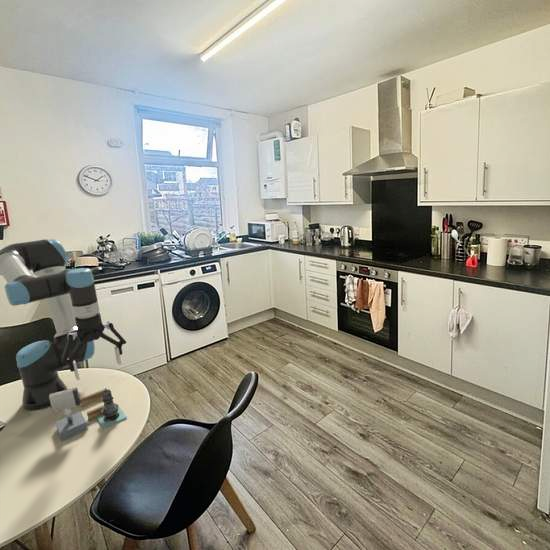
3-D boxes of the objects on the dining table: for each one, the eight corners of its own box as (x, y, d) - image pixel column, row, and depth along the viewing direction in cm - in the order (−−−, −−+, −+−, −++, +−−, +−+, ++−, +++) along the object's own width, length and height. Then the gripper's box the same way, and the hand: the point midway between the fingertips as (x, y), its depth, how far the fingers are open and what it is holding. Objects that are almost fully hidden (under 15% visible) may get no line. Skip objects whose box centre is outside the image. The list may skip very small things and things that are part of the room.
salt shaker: (113, 423, 120) (107, 393, 117) (99, 421, 121) (92, 392, 118) (123, 412, 125) (118, 383, 122) (109, 411, 127) (103, 382, 123)
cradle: (81, 405, 132) (79, 398, 131) (105, 395, 138) (104, 388, 137) (89, 420, 123) (87, 413, 122) (115, 409, 128) (113, 402, 128)
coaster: (97, 418, 124) (96, 417, 124) (119, 408, 129) (119, 407, 129) (103, 429, 118) (102, 427, 118) (126, 418, 123) (126, 416, 123)
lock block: (57, 429, 119) (55, 421, 119) (82, 418, 124) (80, 411, 123) (61, 441, 113) (59, 433, 113) (87, 429, 118) (86, 421, 118)
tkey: (56, 425, 116) (48, 396, 113) (57, 422, 117) (50, 393, 114) (83, 418, 119) (76, 390, 116) (83, 415, 120) (77, 387, 117)
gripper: (45, 329, 103) (60, 390, 109) (129, 307, 118) (138, 361, 124) (41, 322, 108) (56, 380, 114) (122, 302, 124) (131, 354, 130)
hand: (99, 370), depth 119 cm, fingers open, 13 cm apart
